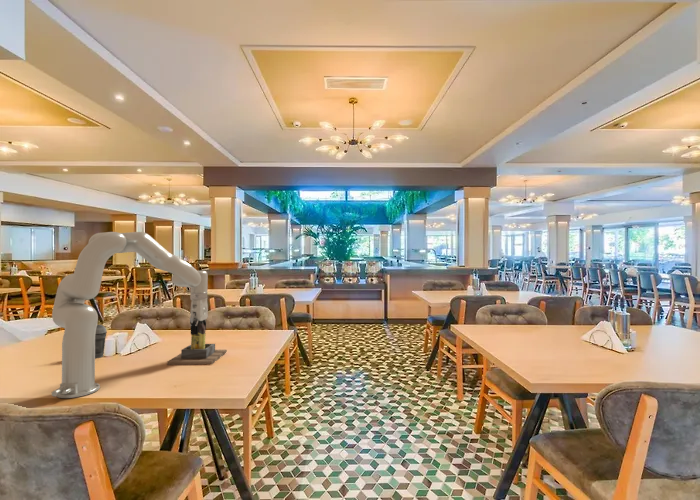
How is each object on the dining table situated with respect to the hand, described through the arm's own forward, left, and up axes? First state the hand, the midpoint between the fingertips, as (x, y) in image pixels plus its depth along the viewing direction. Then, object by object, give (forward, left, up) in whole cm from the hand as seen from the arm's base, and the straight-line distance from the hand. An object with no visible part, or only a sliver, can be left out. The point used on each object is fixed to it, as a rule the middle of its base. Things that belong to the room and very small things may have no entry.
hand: (198, 332), depth 171 cm
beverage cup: (+3, +50, -13) cm, 52 cm away
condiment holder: (0, 0, -12) cm, 12 cm away
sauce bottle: (0, 0, -11) cm, 11 cm away
